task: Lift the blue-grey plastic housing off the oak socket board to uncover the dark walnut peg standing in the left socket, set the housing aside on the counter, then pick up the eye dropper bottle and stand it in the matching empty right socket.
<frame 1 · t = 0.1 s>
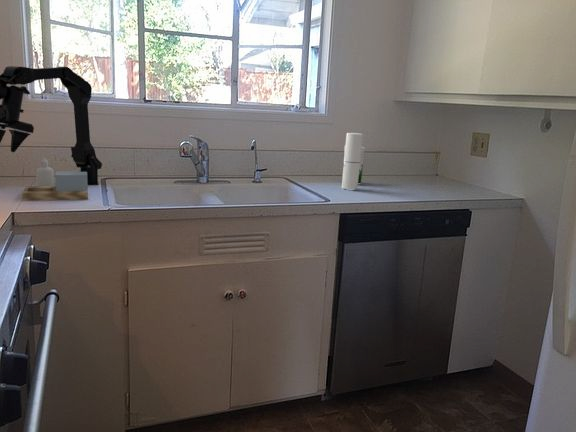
hand: (3, 150, 163), 15 cm above the worktop, tool pointing down, fingers open, 9 cm apart
eye dropper bottle: (46, 190, 180), on the worktop
walnut peg: (72, 196, 173), resting in socket board
cylindrical container: (349, 189, 222), on the worktop
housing: (72, 189, 172), point 2 cm above the worktop, touching socket board
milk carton: (351, 183, 238), on the worktop
socket board: (56, 196, 171), on the worktop
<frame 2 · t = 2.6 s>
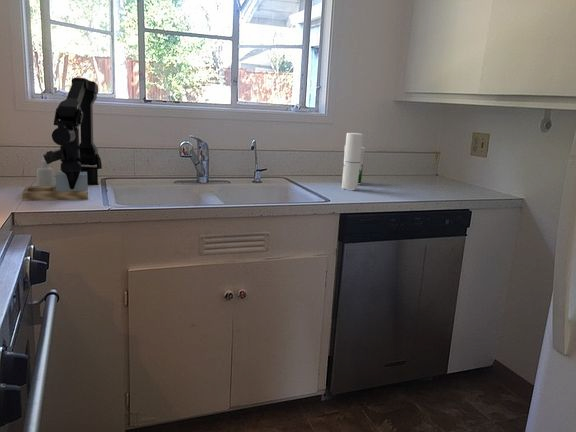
hand: (72, 187, 172), 3 cm above the worktop, tool pointing down, fingers closed on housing, 7 cm apart
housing: (72, 189, 172), point 2 cm above the worktop, touching gripper, socket board
everything else where it was.
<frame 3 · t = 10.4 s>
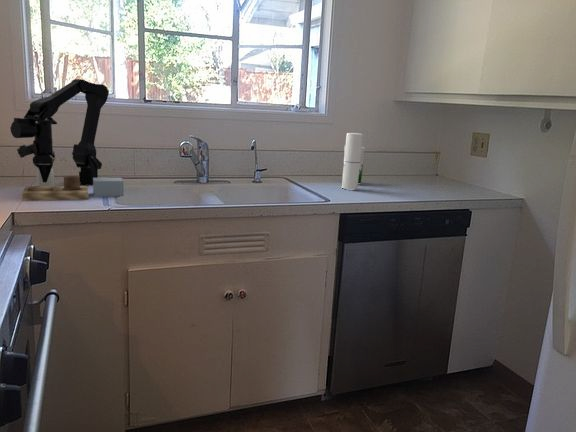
hand: (45, 180, 179), 4 cm above the worktop, tool pointing down, fingers closed on eye dropper bottle, 8 cm apart
eye dropper bottle: (46, 190, 180), on the worktop, touching gripper
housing: (108, 194, 179), on the worktop
everything else where it was.
when the fingers open (5 cm above the worktop, at t = 15.0 s): eye dropper bottle drops 1 cm, resting in socket board.
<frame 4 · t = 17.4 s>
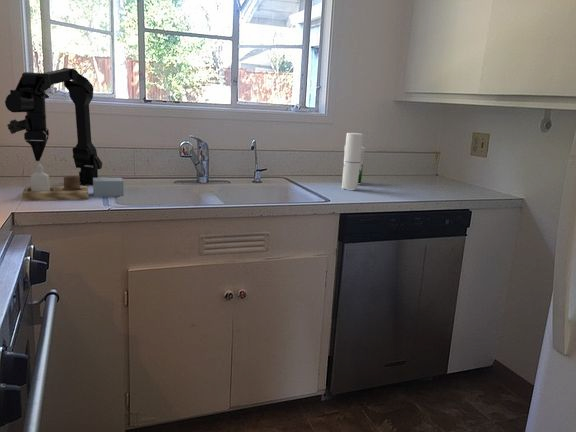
hand: (38, 159, 166), 13 cm above the worktop, tool pointing down, fingers open, 9 cm apart
eye dropper bottle: (40, 197, 169), resting in socket board
everything else where it was.
at the end: eye dropper bottle 0.1 cm from the target spot on the socket board, point 0.0 cm above the socket board's base; eye dropper bottle tilted 0°; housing moved 12.4 cm from its start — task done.
